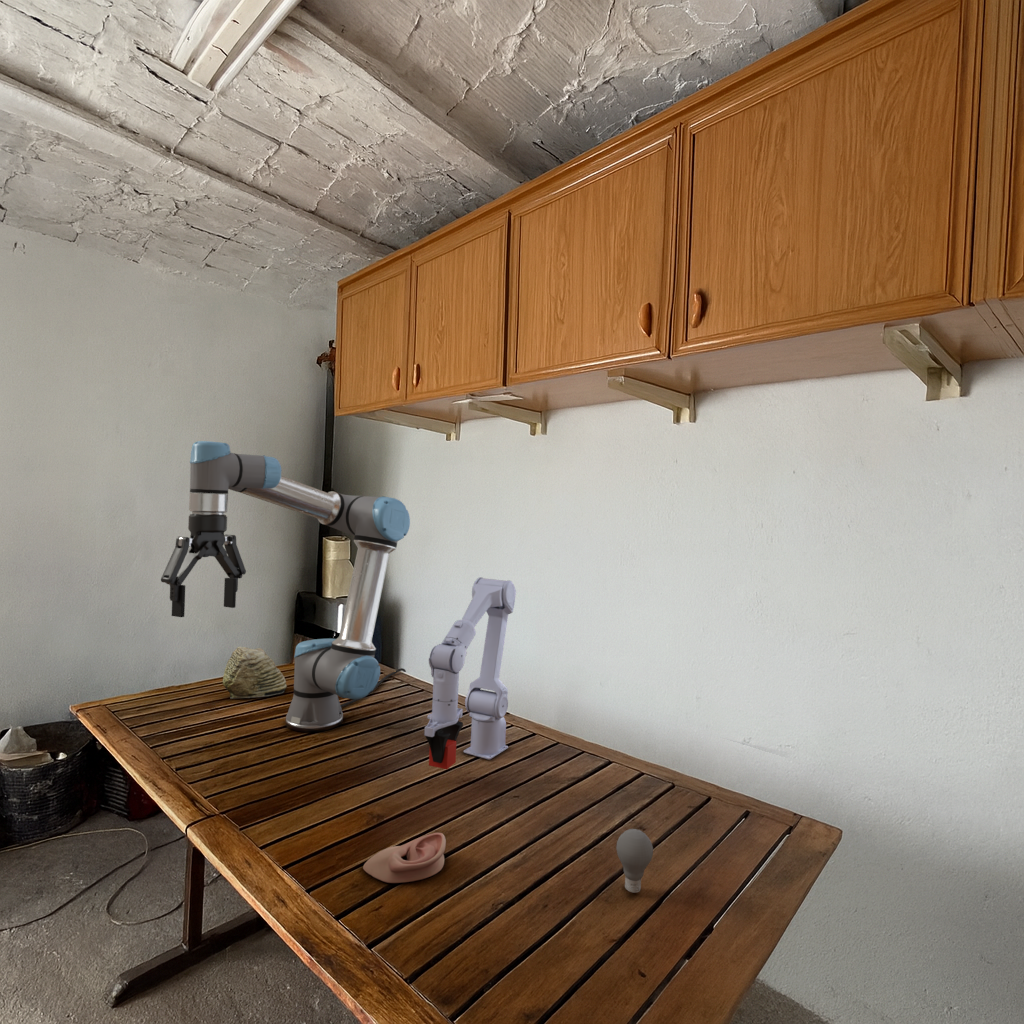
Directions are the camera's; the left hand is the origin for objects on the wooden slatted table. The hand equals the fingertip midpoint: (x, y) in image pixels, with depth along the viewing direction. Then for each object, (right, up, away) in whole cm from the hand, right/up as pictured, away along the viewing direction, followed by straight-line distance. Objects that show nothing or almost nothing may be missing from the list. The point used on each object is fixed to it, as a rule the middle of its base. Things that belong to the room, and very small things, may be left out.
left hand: (204, 611), depth 137 cm
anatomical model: (+48, -40, -27) cm, 68 cm away
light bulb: (+87, -42, -31) cm, 101 cm away
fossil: (-14, -36, +61) cm, 72 cm away
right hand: (+51, -34, +6) cm, 61 cm away
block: (+51, -35, +6) cm, 62 cm away
